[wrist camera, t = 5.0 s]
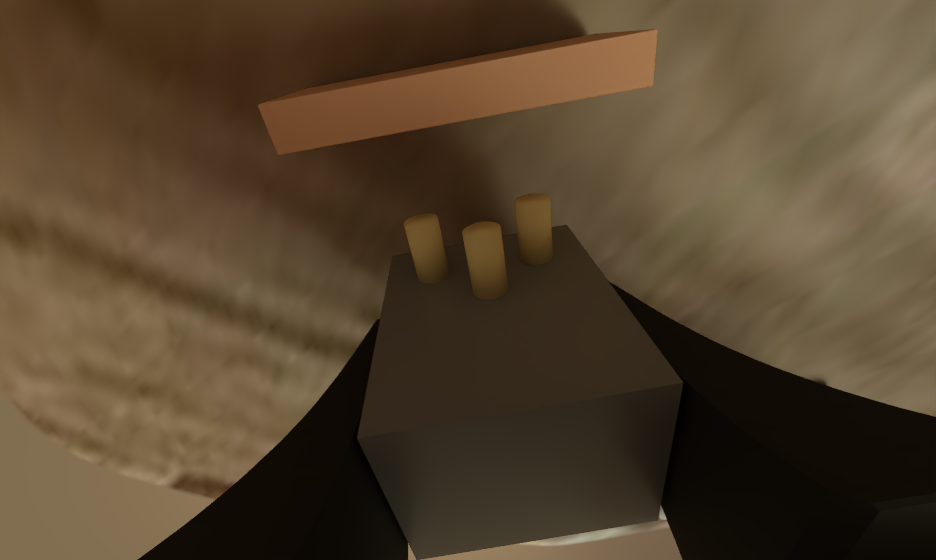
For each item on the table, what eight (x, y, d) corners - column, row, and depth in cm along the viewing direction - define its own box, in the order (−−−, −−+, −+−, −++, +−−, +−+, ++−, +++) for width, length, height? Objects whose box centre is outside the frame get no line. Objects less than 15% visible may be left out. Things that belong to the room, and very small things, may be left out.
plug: (569, 333, 13) (657, 520, 8) (423, 359, 13) (417, 559, 8) (565, 172, 10) (698, 302, 5) (377, 206, 10) (322, 367, 5)
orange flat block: (594, 74, 11) (653, 85, 8) (320, 126, 11) (278, 155, 8) (594, 33, 11) (657, 29, 8) (307, 88, 11) (257, 104, 8)
